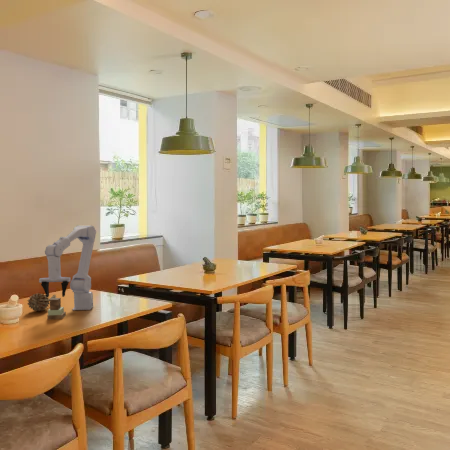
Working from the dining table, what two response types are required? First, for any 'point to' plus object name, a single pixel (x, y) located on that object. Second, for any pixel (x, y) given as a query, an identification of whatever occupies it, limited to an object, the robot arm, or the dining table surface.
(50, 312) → the slab top
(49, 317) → the slab bottom
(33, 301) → the pine cone
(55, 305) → the walnut block
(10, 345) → the dining table surface
